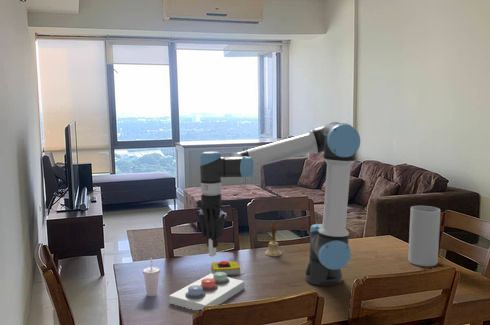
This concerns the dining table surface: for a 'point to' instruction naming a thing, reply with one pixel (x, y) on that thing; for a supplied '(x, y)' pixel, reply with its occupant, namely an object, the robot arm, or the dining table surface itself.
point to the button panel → (207, 294)
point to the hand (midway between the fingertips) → (212, 255)
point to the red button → (208, 283)
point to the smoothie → (151, 279)
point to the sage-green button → (220, 276)
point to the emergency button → (226, 268)
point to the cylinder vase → (424, 235)
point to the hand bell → (273, 243)
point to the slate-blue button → (195, 290)
